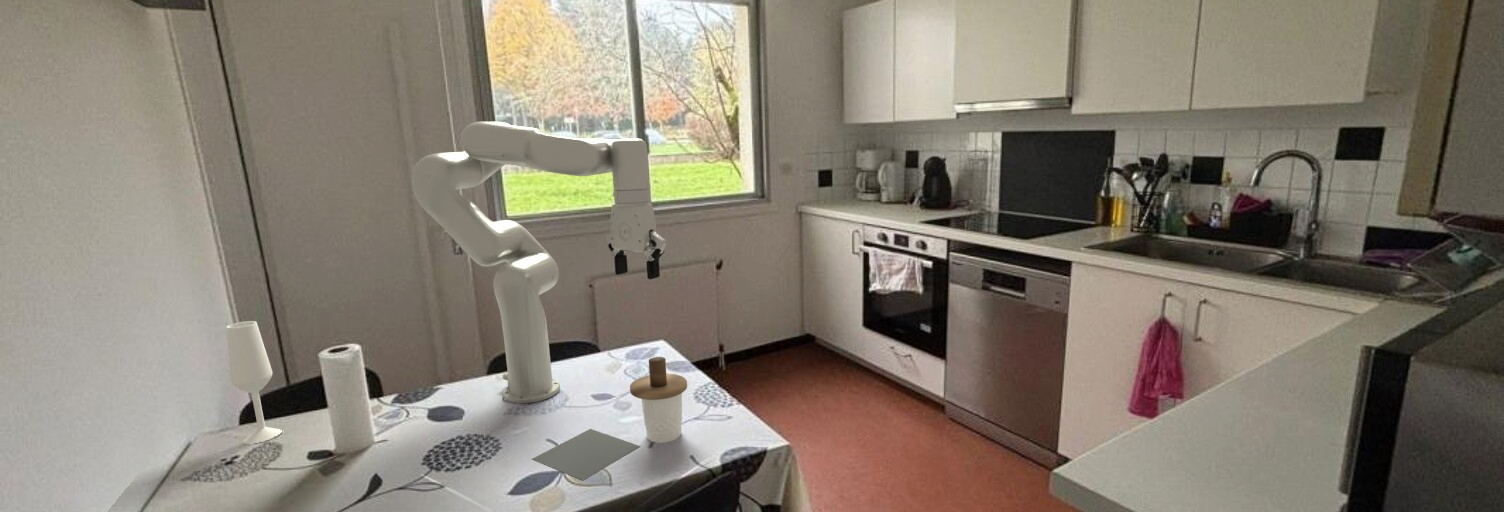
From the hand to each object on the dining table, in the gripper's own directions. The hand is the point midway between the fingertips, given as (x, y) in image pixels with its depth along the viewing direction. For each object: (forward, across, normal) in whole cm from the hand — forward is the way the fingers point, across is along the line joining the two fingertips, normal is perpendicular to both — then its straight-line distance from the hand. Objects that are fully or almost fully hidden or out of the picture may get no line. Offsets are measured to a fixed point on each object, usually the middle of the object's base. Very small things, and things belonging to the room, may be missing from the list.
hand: (637, 275), depth 138 cm
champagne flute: (+29, -55, -55) cm, 83 cm away
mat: (+28, +9, -25) cm, 39 cm away
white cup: (+28, +17, -12) cm, 35 cm away
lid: (+18, +16, -12) cm, 27 cm away
